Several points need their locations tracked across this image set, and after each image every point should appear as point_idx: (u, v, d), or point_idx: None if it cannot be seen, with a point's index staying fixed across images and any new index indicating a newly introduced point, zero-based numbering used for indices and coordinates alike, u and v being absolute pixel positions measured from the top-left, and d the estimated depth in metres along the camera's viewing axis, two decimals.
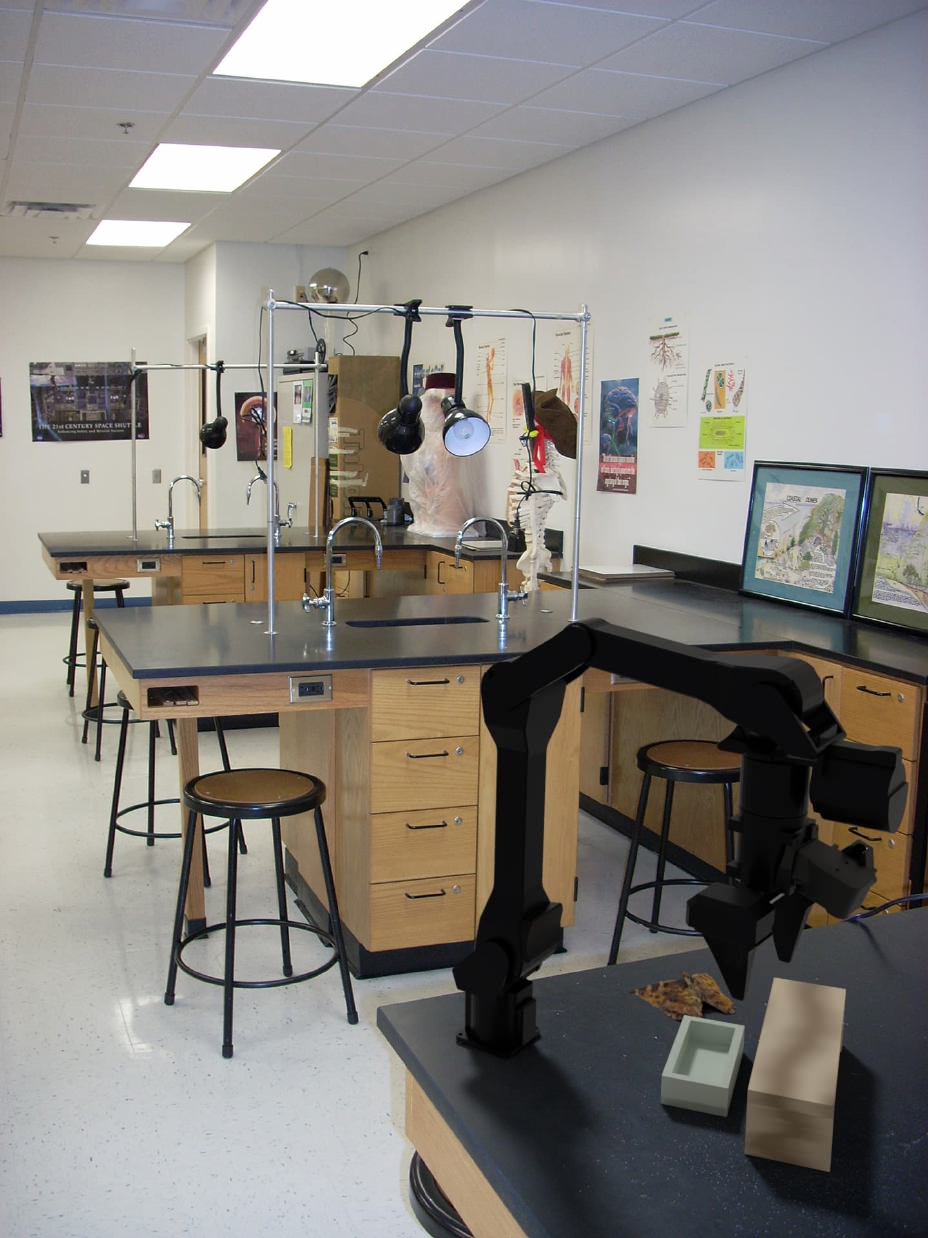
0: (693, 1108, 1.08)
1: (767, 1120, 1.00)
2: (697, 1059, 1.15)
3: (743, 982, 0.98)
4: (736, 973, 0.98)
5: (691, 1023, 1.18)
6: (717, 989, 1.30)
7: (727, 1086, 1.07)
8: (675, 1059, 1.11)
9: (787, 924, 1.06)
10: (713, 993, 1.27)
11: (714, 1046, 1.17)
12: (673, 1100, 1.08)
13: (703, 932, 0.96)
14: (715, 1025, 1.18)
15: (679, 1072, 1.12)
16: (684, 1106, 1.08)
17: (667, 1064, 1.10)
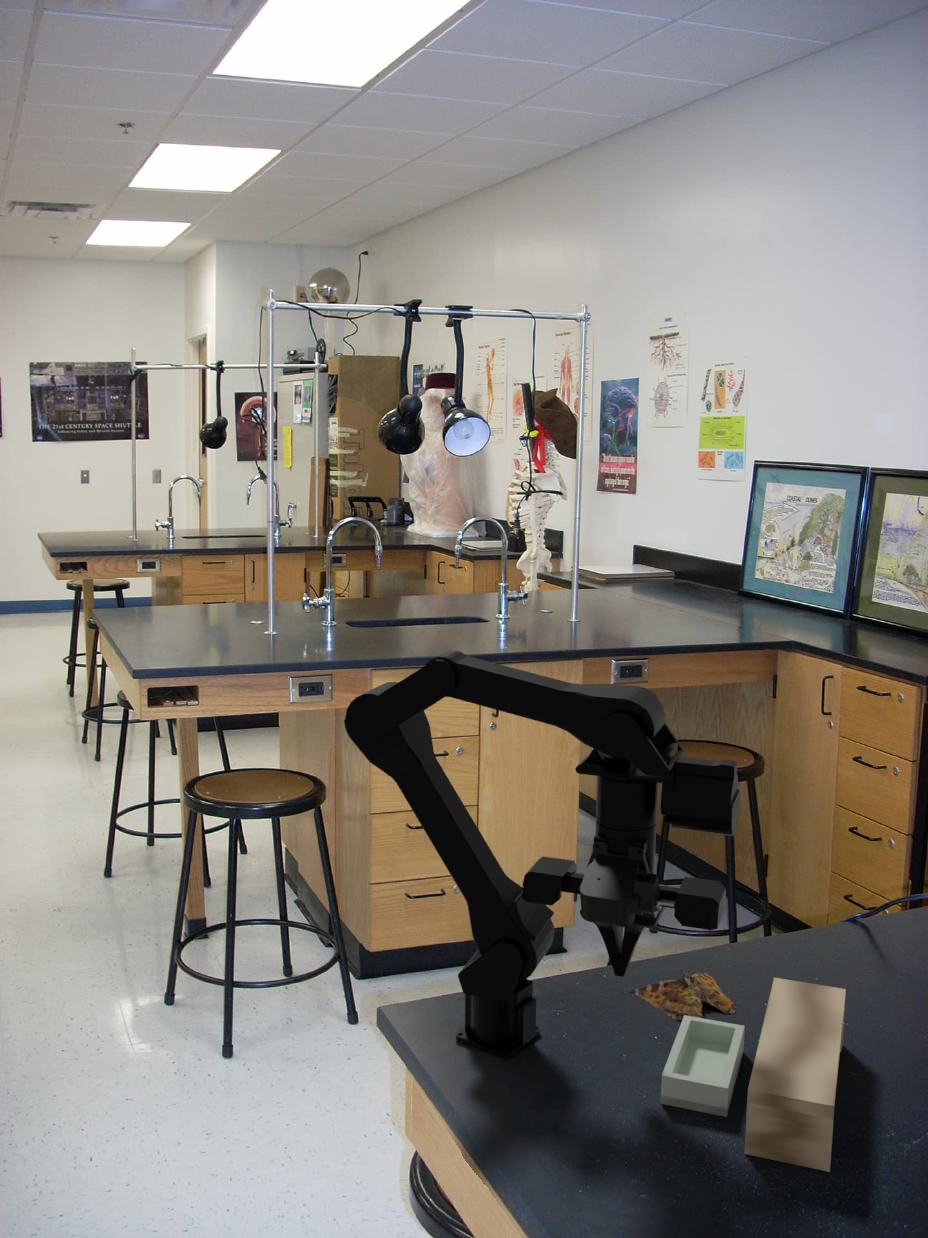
0: (693, 1108, 1.08)
1: (767, 1120, 1.00)
2: (697, 1059, 1.15)
3: None
4: None
5: (691, 1023, 1.18)
6: (717, 989, 1.30)
7: (727, 1086, 1.07)
8: (675, 1059, 1.11)
9: None
10: (713, 993, 1.27)
11: (714, 1046, 1.17)
12: (673, 1100, 1.08)
13: None
14: (715, 1025, 1.18)
15: (679, 1072, 1.12)
16: (684, 1106, 1.08)
17: (667, 1064, 1.10)
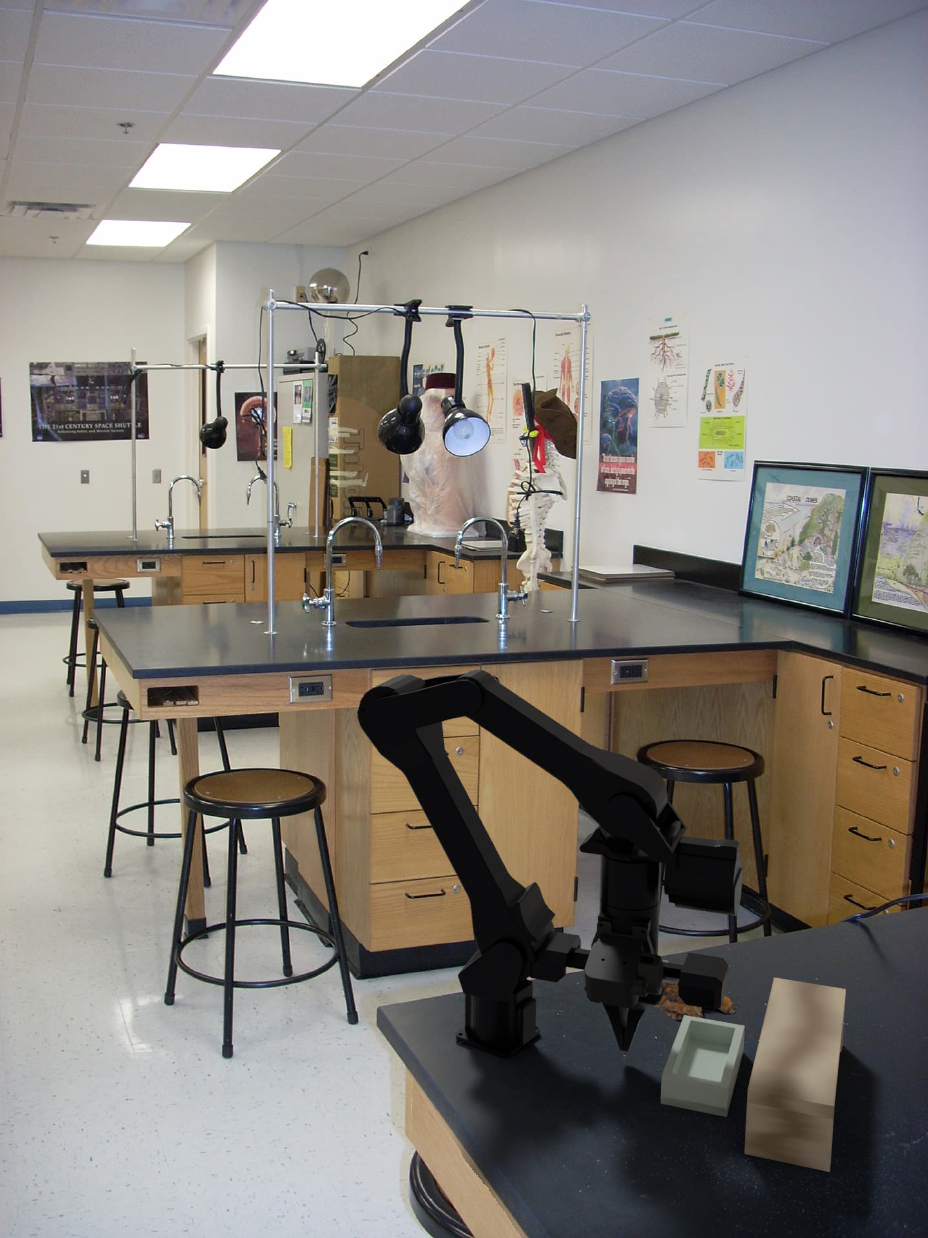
0: (693, 1108, 1.08)
1: (767, 1120, 1.00)
2: (697, 1059, 1.15)
3: (614, 1032, 1.15)
4: None
5: (691, 1023, 1.18)
6: None
7: (727, 1086, 1.07)
8: (675, 1059, 1.11)
9: None
10: None
11: (714, 1046, 1.17)
12: (673, 1100, 1.08)
13: None
14: (715, 1025, 1.18)
15: (679, 1072, 1.12)
16: (684, 1106, 1.08)
17: (667, 1064, 1.10)
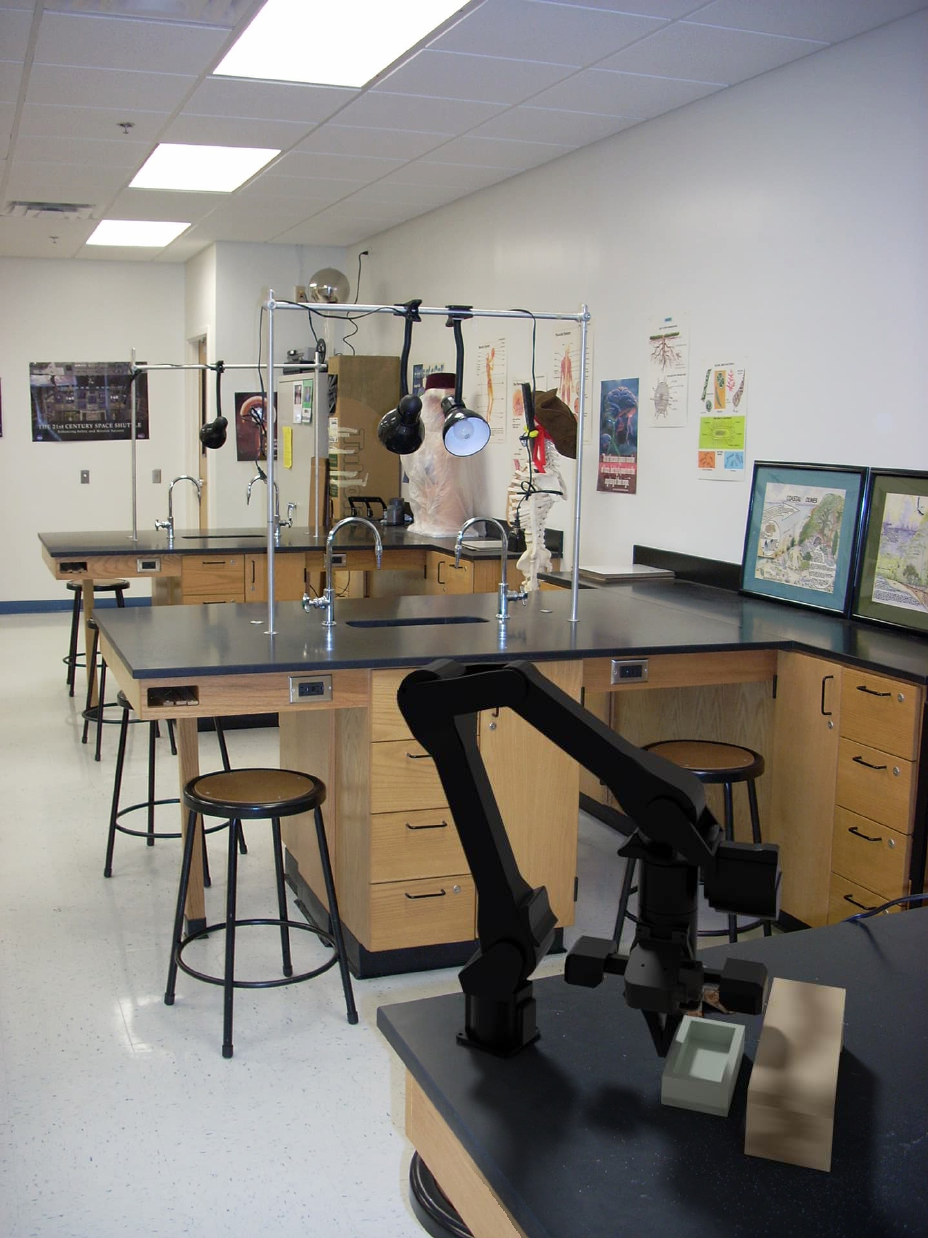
0: (693, 1108, 1.08)
1: (767, 1120, 1.00)
2: (698, 1059, 1.15)
3: None
4: None
5: (691, 1023, 1.18)
6: None
7: (727, 1086, 1.07)
8: (675, 1059, 1.11)
9: None
10: (713, 993, 1.27)
11: (714, 1046, 1.17)
12: (673, 1100, 1.08)
13: None
14: (715, 1025, 1.17)
15: (679, 1072, 1.12)
16: (685, 1106, 1.08)
17: (667, 1064, 1.10)
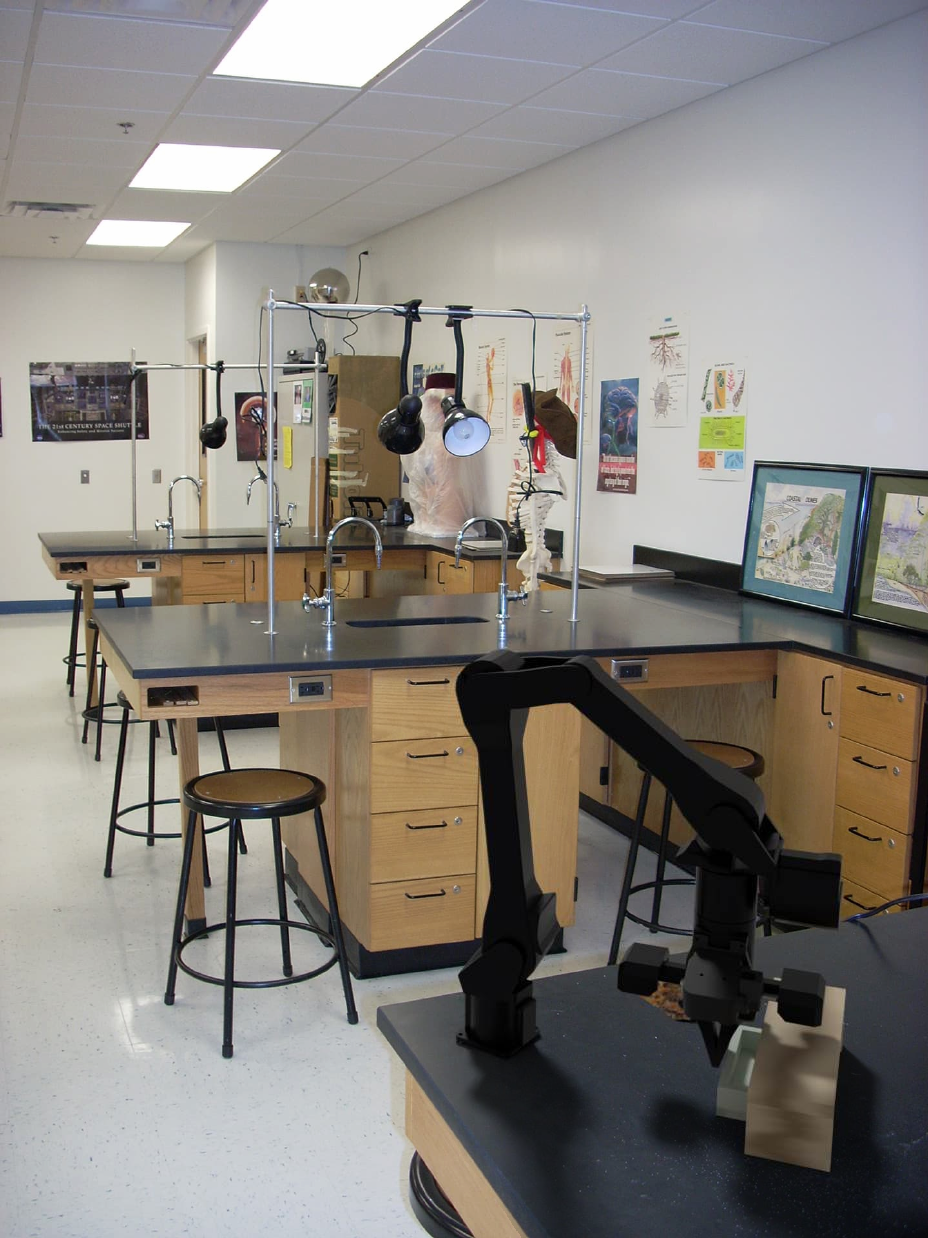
0: None
1: (767, 1120, 1.00)
2: (750, 1069, 1.13)
3: None
4: None
5: (743, 1032, 1.17)
6: None
7: None
8: (730, 1070, 1.09)
9: None
10: None
11: None
12: (729, 1112, 1.06)
13: None
14: None
15: (733, 1083, 1.11)
16: (740, 1118, 1.06)
17: (722, 1075, 1.08)
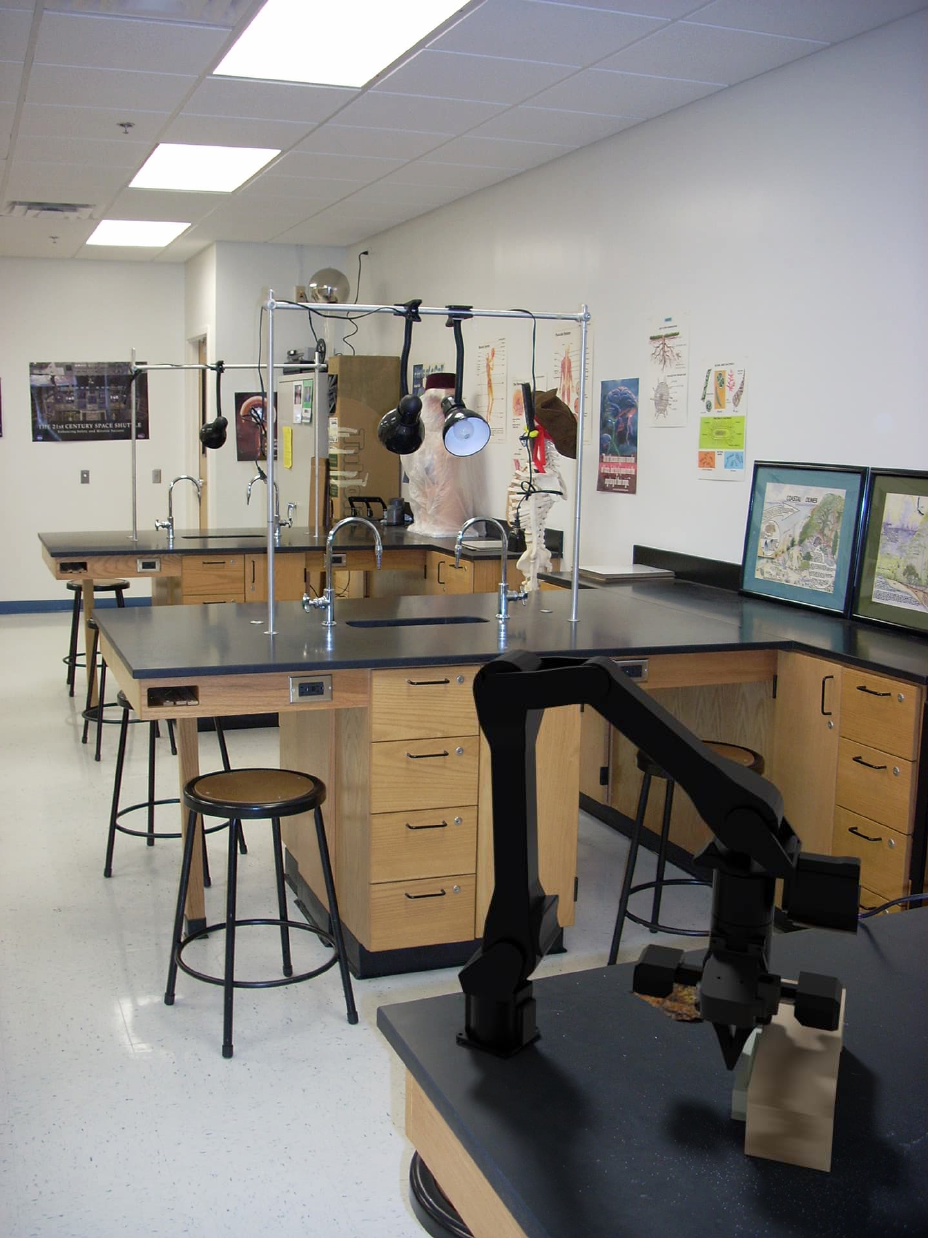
0: None
1: (767, 1120, 1.00)
2: None
3: (722, 1051, 1.11)
4: None
5: (757, 1035, 1.16)
6: None
7: None
8: (744, 1073, 1.09)
9: None
10: None
11: None
12: (744, 1115, 1.06)
13: None
14: None
15: (748, 1086, 1.10)
16: None
17: (737, 1078, 1.08)
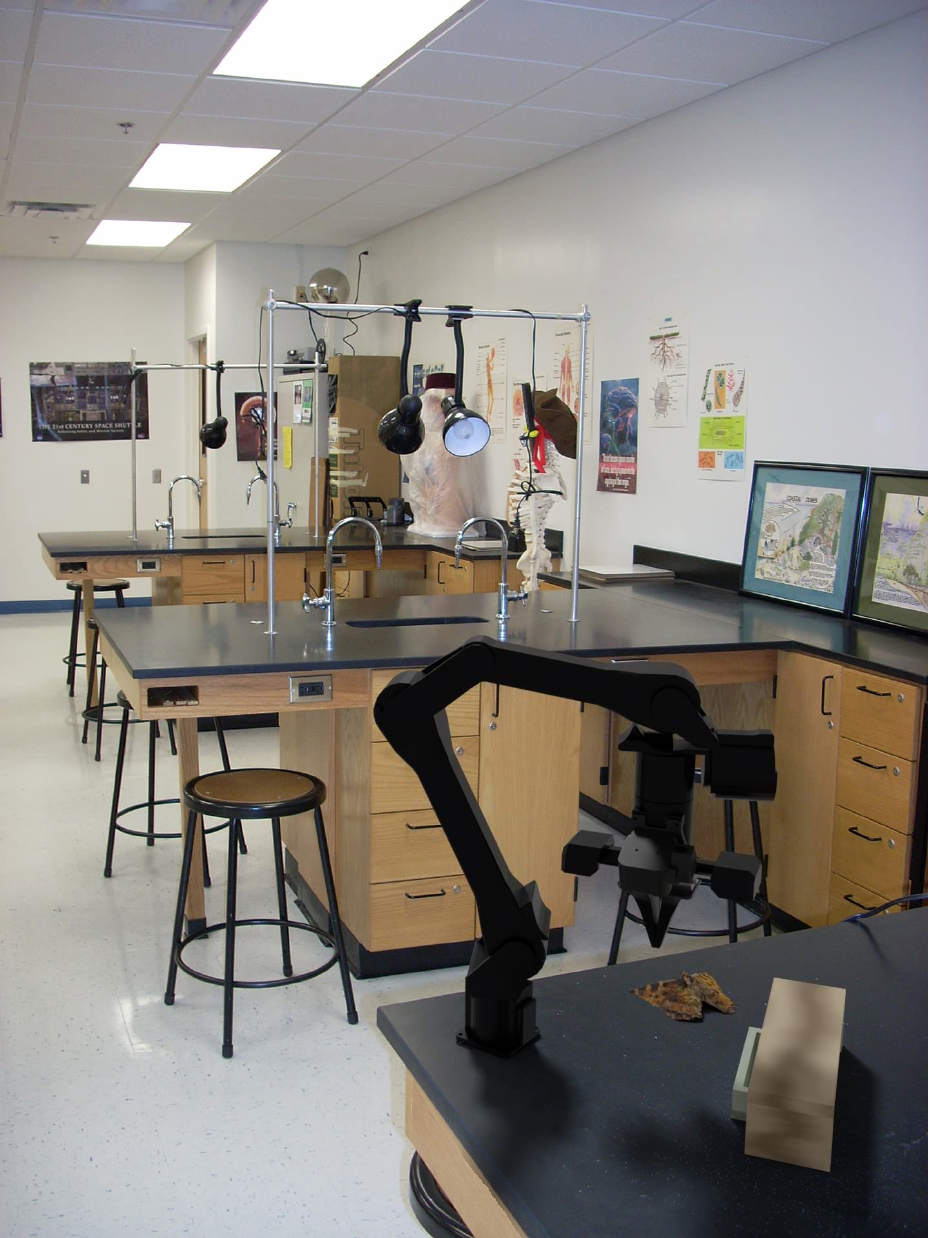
0: None
1: (767, 1120, 1.00)
2: None
3: (646, 928, 1.16)
4: None
5: (757, 1035, 1.16)
6: (717, 988, 1.30)
7: None
8: (745, 1072, 1.09)
9: None
10: (712, 993, 1.27)
11: None
12: (744, 1114, 1.06)
13: None
14: None
15: (748, 1085, 1.10)
16: None
17: (737, 1078, 1.08)
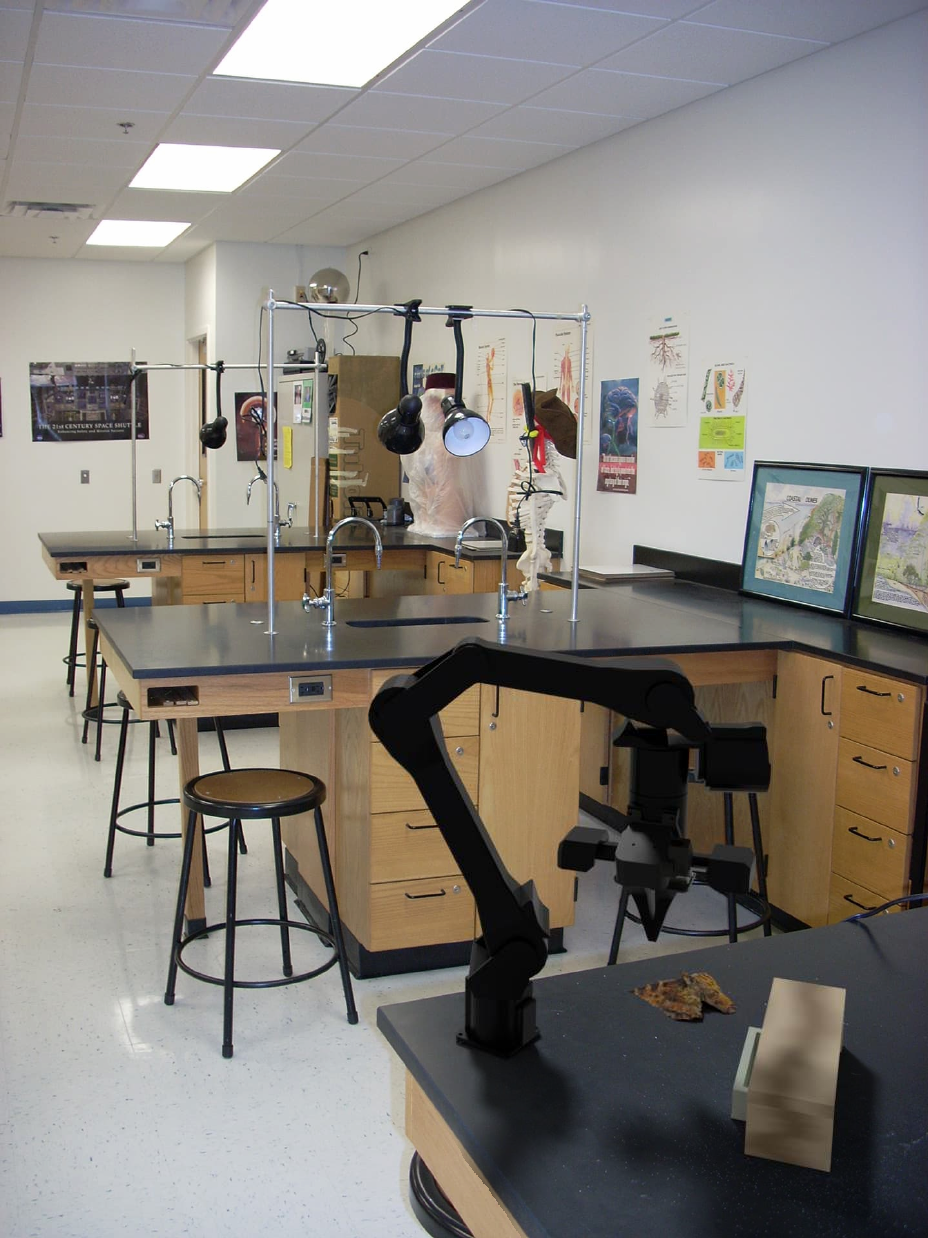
0: None
1: (767, 1120, 1.00)
2: None
3: None
4: None
5: (757, 1035, 1.16)
6: (716, 988, 1.30)
7: None
8: (745, 1072, 1.09)
9: None
10: (712, 992, 1.27)
11: None
12: (744, 1114, 1.06)
13: None
14: None
15: (748, 1085, 1.10)
16: None
17: (737, 1077, 1.08)
